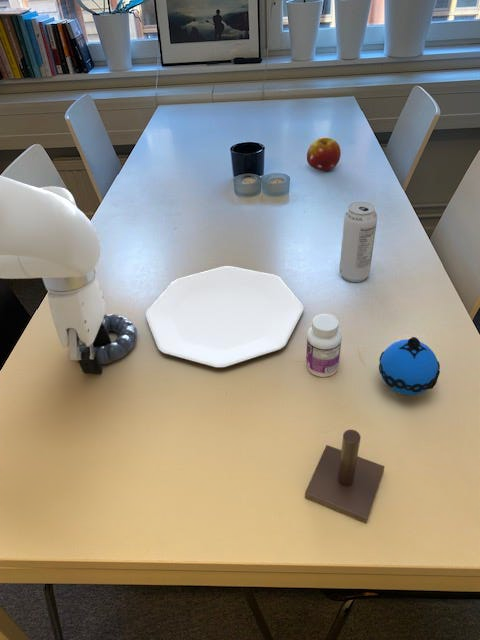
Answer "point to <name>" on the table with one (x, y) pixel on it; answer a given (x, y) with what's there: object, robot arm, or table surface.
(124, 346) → the ring
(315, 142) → the fruit
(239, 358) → the plate
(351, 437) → the stand
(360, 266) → the energy drink can
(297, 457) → the table surface
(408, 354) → the ornament
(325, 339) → the pill bottle
